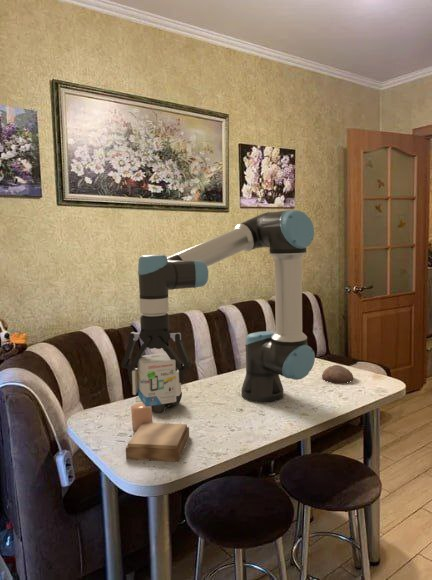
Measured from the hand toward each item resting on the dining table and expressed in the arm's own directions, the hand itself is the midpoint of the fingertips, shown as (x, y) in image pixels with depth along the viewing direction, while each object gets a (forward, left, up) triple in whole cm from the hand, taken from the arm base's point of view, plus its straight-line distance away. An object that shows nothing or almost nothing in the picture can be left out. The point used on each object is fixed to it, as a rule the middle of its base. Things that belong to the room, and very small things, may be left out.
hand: (157, 393), depth 118 cm
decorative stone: (-56, -63, -16) cm, 85 cm away
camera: (+5, -29, -16) cm, 34 cm away
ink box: (0, 0, -2) cm, 2 cm away
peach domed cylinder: (+8, -11, -15) cm, 20 cm away
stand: (0, 0, -15) cm, 15 cm away
